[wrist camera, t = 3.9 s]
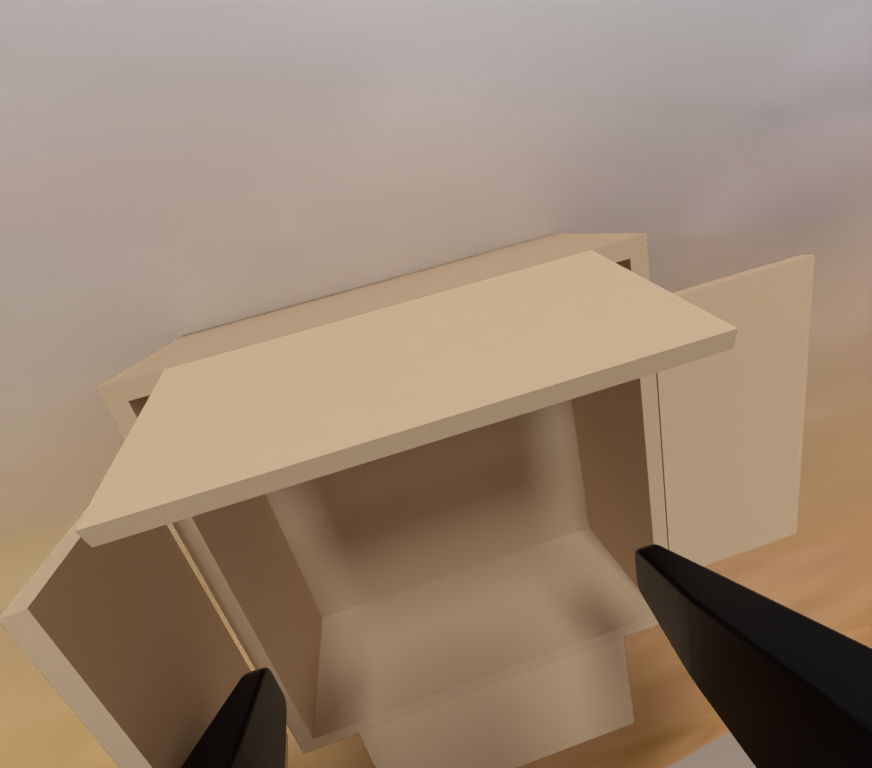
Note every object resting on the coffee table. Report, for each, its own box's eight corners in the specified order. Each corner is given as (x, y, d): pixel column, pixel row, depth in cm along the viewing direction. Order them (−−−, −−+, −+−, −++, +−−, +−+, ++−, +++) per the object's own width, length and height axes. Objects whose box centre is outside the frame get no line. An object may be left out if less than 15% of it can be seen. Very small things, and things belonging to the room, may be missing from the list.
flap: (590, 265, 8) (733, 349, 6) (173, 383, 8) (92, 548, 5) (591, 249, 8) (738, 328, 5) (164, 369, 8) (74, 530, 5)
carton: (694, 572, 19) (790, 667, 15) (350, 693, 17) (350, 835, 13) (679, 199, 13) (824, 183, 9) (182, 335, 12) (94, 387, 8)
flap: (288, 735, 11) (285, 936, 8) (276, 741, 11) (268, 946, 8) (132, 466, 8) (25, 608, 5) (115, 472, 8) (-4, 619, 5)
